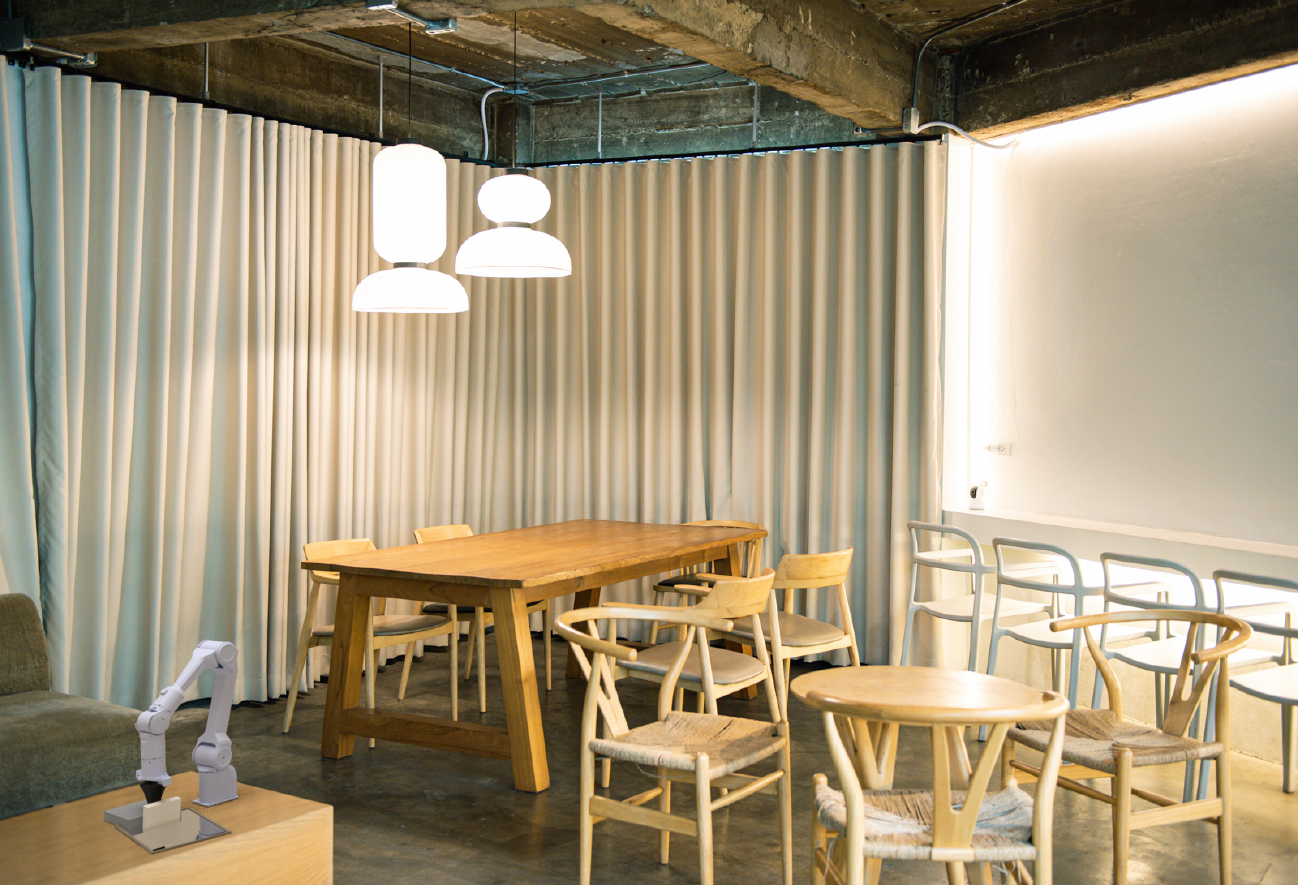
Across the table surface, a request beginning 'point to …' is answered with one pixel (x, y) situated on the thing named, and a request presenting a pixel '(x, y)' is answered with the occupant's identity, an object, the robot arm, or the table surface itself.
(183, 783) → the table surface
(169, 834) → the picture frame
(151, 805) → the tile
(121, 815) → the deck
